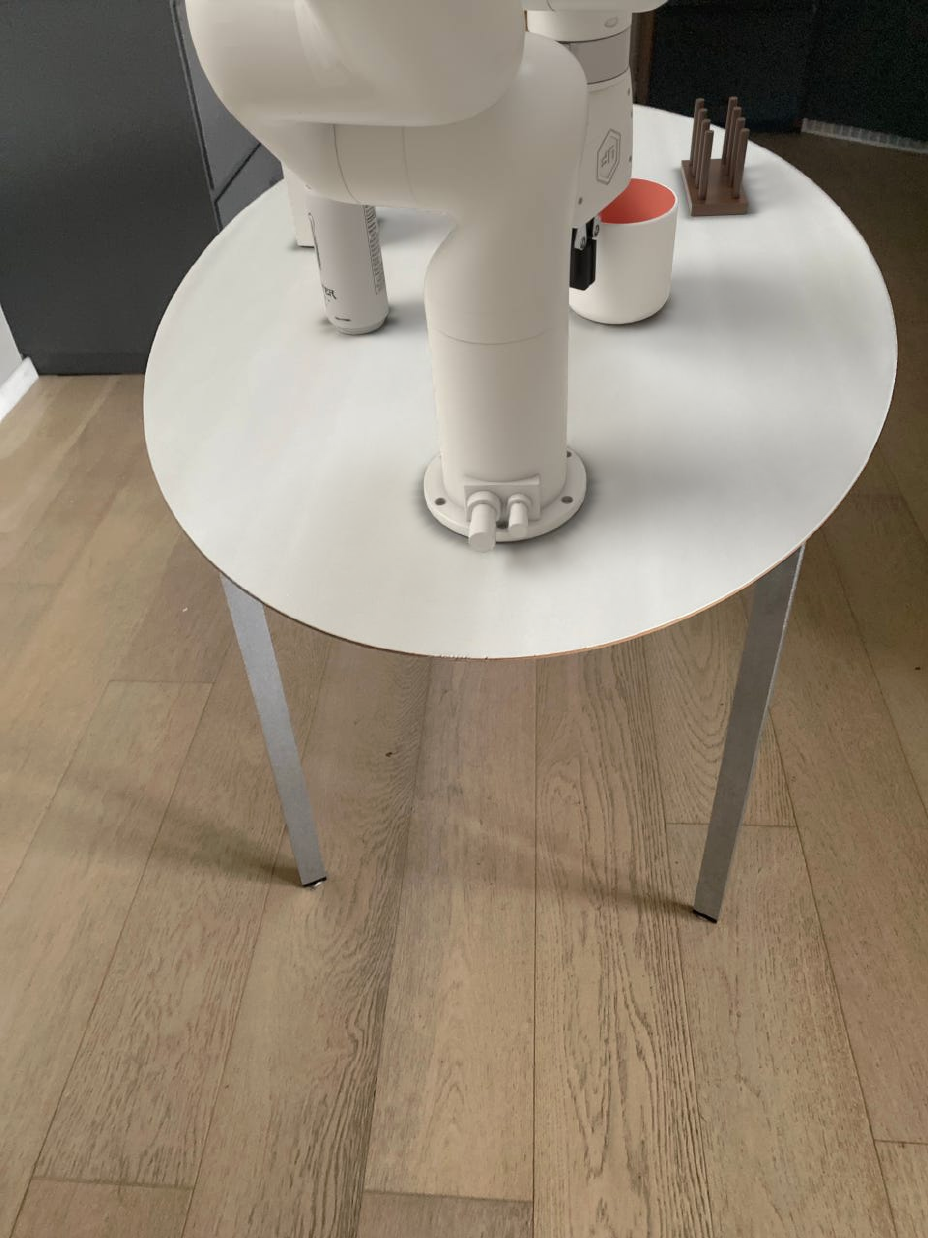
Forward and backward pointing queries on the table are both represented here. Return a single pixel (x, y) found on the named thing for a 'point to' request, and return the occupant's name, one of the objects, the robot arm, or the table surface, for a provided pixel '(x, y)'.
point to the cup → (632, 256)
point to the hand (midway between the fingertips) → (574, 282)
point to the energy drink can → (348, 263)
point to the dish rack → (716, 165)
